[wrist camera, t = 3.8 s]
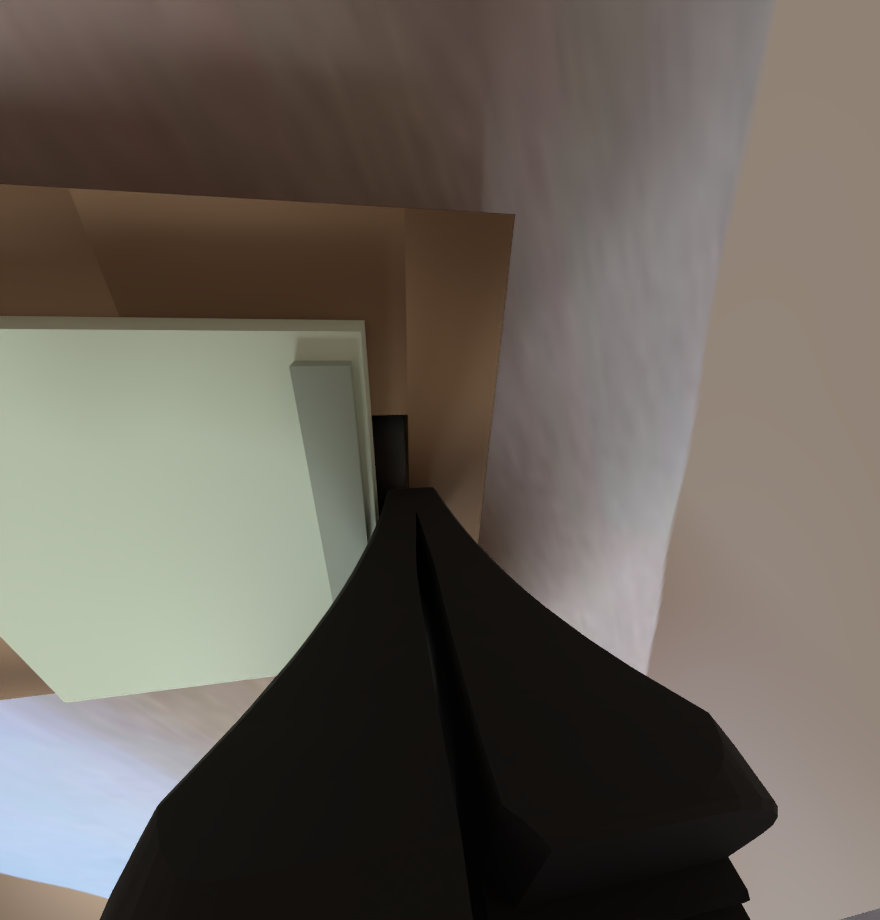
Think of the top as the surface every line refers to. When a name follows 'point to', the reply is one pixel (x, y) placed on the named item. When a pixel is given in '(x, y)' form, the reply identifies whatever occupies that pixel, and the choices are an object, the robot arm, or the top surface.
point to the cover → (177, 494)
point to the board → (287, 302)
